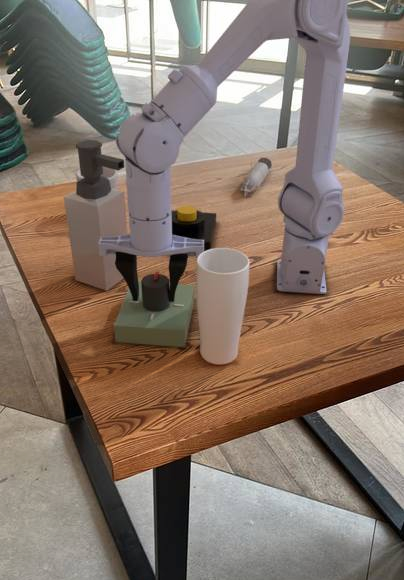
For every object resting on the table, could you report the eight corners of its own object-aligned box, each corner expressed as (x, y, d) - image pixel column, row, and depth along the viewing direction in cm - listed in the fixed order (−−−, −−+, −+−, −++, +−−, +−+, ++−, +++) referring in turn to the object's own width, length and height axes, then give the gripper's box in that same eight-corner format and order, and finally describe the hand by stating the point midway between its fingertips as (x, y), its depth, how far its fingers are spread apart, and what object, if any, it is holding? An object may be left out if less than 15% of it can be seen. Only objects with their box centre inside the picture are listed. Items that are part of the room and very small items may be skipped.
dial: (167, 312, 83) (166, 287, 80) (140, 310, 83) (138, 285, 80) (171, 297, 86) (170, 272, 83) (145, 295, 86) (143, 270, 83)
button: (195, 223, 104) (195, 214, 103) (175, 222, 104) (175, 213, 103) (197, 214, 107) (197, 205, 106) (178, 213, 107) (178, 204, 106)
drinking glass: (240, 339, 83) (247, 247, 74) (245, 369, 78) (253, 274, 68) (194, 340, 83) (195, 247, 73) (195, 370, 78) (196, 274, 68)
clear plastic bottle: (255, 168, 135) (257, 140, 131) (275, 171, 134) (277, 143, 130) (233, 197, 122) (235, 167, 118) (255, 201, 121) (257, 170, 117)
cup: (128, 222, 112) (126, 183, 107) (88, 228, 110) (84, 188, 105) (114, 200, 120) (111, 163, 115) (76, 206, 117) (71, 167, 112)
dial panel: (184, 347, 81) (184, 329, 79) (115, 342, 82) (113, 324, 80) (194, 301, 91) (194, 284, 89) (132, 296, 91) (131, 279, 89)
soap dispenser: (118, 295, 92) (105, 158, 78) (75, 279, 95) (56, 146, 81) (141, 277, 96) (133, 144, 82) (100, 263, 99) (85, 133, 86)
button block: (210, 253, 103) (210, 232, 100) (155, 249, 104) (154, 229, 101) (216, 223, 112) (216, 204, 110) (165, 220, 113) (165, 201, 110)
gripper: (205, 200, 79) (203, 284, 88) (101, 197, 79) (109, 282, 88) (203, 223, 74) (202, 310, 82) (91, 220, 74) (101, 307, 82)
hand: (154, 297), depth 85 cm, fingers open, 5 cm apart
